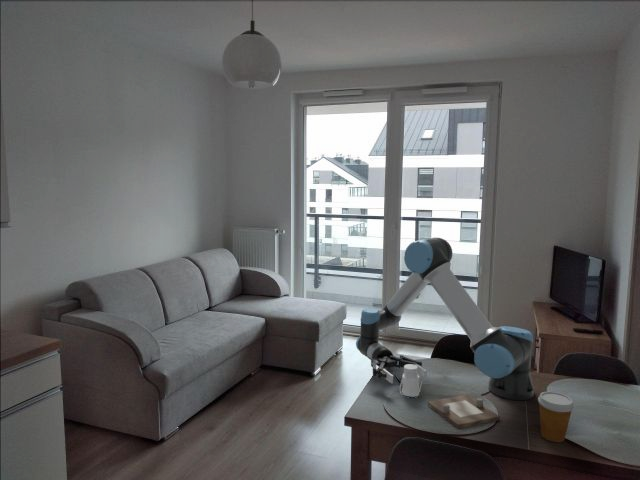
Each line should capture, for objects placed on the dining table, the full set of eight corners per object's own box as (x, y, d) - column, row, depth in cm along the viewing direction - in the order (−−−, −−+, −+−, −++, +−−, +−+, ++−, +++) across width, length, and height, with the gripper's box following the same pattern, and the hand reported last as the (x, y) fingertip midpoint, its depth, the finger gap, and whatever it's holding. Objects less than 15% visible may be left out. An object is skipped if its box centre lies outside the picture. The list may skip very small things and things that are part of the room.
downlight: (418, 388, 172) (418, 361, 170) (425, 397, 165) (425, 369, 163) (396, 390, 170) (396, 363, 169) (403, 399, 163) (403, 371, 162)
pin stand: (467, 397, 165) (467, 389, 165) (499, 419, 150) (500, 410, 150) (427, 404, 159) (428, 395, 159) (457, 428, 145) (458, 418, 144)
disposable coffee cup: (569, 449, 135) (573, 408, 133) (532, 438, 140) (536, 399, 138) (572, 434, 143) (575, 396, 141) (537, 424, 148) (540, 388, 146)
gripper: (407, 361, 192) (438, 382, 172) (351, 368, 183) (377, 392, 163) (408, 343, 191) (439, 362, 171) (351, 349, 182) (378, 371, 162)
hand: (409, 377), depth 167 cm, fingers open, 13 cm apart
